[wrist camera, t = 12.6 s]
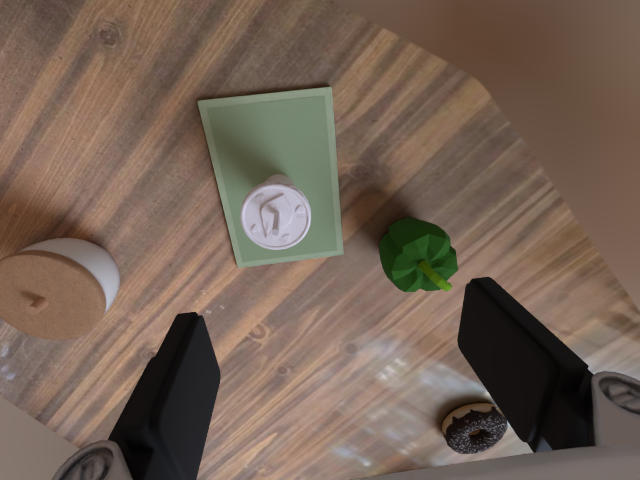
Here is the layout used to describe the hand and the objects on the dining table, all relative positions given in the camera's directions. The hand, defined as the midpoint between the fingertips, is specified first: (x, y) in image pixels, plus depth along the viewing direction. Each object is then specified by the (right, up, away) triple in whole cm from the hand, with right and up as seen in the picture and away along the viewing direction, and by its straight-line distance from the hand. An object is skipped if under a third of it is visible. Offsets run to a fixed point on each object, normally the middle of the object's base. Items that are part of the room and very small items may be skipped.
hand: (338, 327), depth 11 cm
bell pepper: (+10, +3, +30) cm, 32 cm away
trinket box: (-30, 0, +28) cm, 40 cm away
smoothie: (-5, +9, +25) cm, 27 cm away
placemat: (-5, +9, +25) cm, 28 cm away
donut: (+28, -31, +48) cm, 63 cm away
